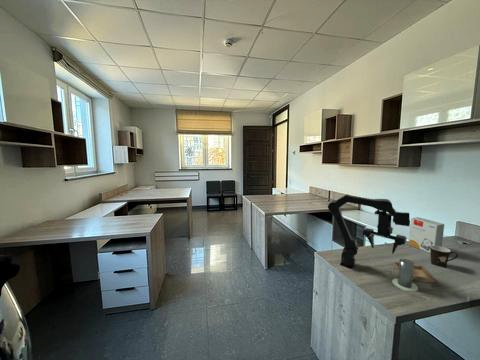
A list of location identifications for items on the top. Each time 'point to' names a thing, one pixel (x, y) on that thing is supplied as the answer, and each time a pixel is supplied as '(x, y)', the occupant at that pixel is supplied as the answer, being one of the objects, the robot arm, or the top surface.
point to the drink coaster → (413, 288)
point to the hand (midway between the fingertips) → (382, 250)
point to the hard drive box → (425, 233)
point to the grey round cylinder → (405, 273)
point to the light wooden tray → (419, 273)
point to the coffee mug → (440, 255)
